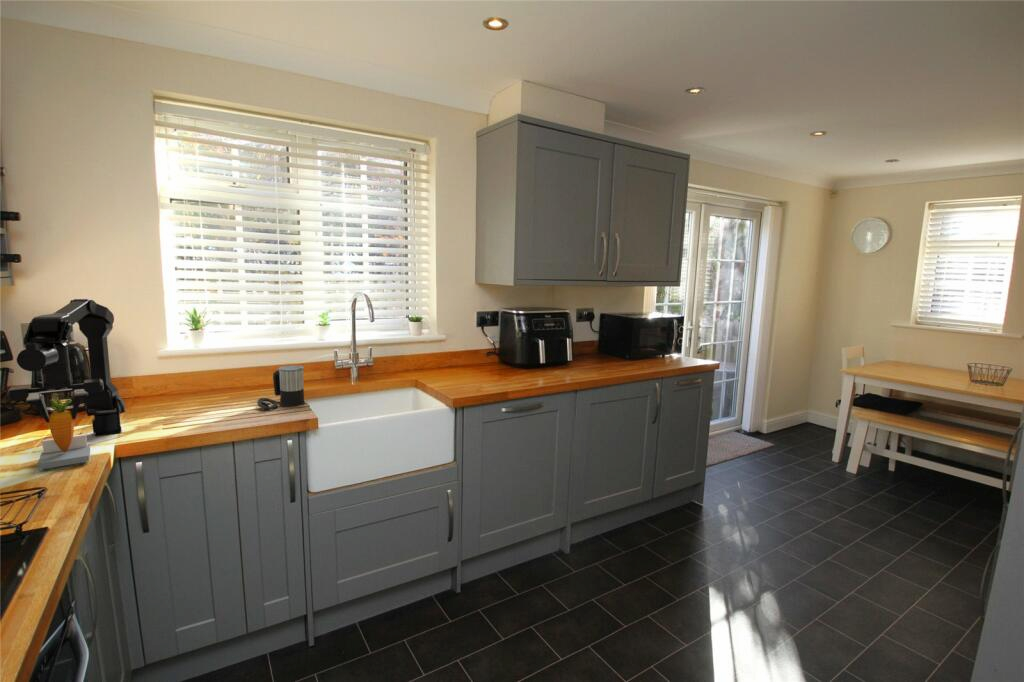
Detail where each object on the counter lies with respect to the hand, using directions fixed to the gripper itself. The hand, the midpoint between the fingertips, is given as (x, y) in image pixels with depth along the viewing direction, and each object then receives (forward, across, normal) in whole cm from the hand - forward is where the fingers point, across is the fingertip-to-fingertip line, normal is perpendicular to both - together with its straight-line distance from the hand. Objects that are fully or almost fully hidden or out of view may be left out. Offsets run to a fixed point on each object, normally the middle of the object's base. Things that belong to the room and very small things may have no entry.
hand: (61, 420), depth 134 cm
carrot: (+9, 0, 0) cm, 9 cm away
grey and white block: (+12, 0, +1) cm, 12 cm away
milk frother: (+12, -62, -27) cm, 68 cm away
